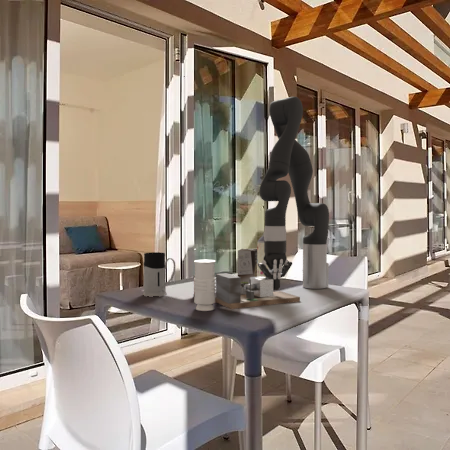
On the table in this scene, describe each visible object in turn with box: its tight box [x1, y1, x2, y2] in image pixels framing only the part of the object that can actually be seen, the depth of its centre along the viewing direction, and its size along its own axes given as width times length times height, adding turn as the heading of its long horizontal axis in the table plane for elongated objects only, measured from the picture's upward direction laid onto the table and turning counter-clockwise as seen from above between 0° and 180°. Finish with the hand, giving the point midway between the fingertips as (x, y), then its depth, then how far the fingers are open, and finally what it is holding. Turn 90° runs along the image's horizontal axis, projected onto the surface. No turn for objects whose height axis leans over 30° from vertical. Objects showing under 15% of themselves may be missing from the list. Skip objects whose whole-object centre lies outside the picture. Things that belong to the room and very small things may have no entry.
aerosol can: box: [256, 232, 269, 278], centre depth 204 cm, size 7×7×20 cm
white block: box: [244, 276, 274, 297], centre depth 152 cm, size 8×7×6 cm
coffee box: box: [237, 248, 257, 295], centre depth 168 cm, size 9×6×16 cm
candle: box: [193, 259, 216, 312], centre depth 141 cm, size 7×7×15 cm
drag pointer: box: [246, 279, 254, 299], centre depth 146 cm, size 1×3×6 cm, turn 26°
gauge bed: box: [215, 272, 301, 310], centre depth 152 cm, size 26×12×10 cm, turn 116°
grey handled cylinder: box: [142, 251, 176, 298], centre depth 163 cm, size 9×14×15 cm, turn 55°
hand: (275, 289), depth 155 cm, fingers closed
